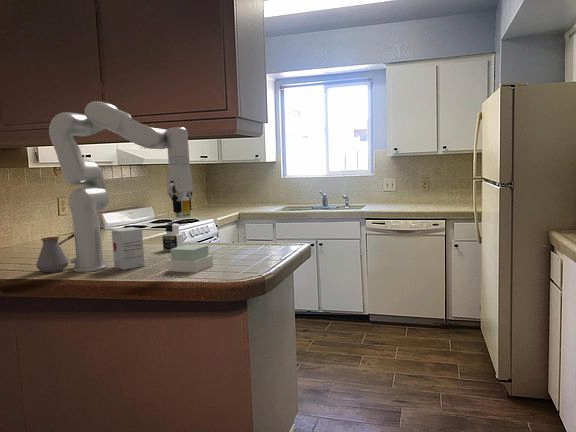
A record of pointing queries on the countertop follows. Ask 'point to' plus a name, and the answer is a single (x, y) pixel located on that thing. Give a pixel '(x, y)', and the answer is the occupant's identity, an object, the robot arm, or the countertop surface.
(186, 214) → the supplement bottle
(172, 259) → the block
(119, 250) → the supplement box
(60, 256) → the coffee pot
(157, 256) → the countertop surface
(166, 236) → the medicine bottle
